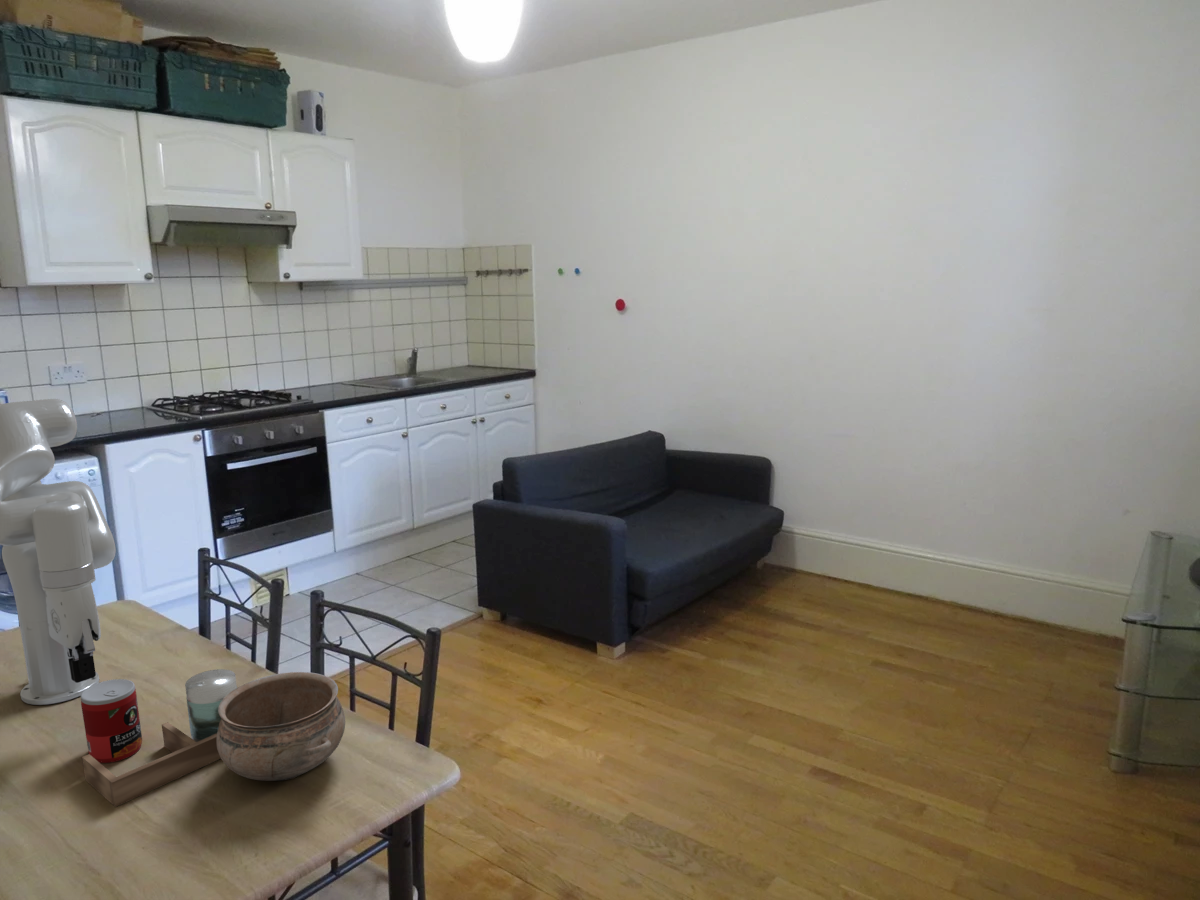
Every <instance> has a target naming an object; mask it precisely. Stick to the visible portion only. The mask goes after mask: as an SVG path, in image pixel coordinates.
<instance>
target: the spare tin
mask: <svg viewBox="0 0 1200 900" xmlns="http://www.w3.org/2000/svg"><path fill="white" fill-rule="evenodd" d="M184 685H185V686H184V687H185V694H186V706H187V712H188V713H187V714H188V722H189V730H190V736H191V737H190V738H192V739H193V740H194V741H196V742H198V741H200V740H203V739H205V738H207V737H210V736H212V735H214V734H217V732H218V727H219V723H220V720H221V717H220V715H219V713H218V707H219V705H220V702H221V701H222V700H223V699H224V697H226V696H227V695H228V694H229V693H230V692H232V691H233V690H235V689H236V688H238V686H237V678H236V673H235V672H234V671H233V670H230V669H223V668H221V669H220V668H219V669H217V668H216V669H210V670H206V671H202V672H199V673H197V674H195V675H193V676H190V678H188V679H187V680H186V681H185V684H184Z"/></svg>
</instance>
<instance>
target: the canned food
mask: <svg viewBox="0 0 1200 900" xmlns="http://www.w3.org/2000/svg"><path fill="white" fill-rule="evenodd" d="M80 705H81V712H82V719H83V725H84V726H83V727H84V731H85V738H86V743H87V745H86V746H87V750H88V751H87V753H88V754H90V755H91V756H92V757H93V758H94V759H96V760H97V761H98V762H99V763H100V764H108V763H115V762H119V761H123V760H125V759H128V758H130V757H131V756H133V755H135V754H136V753H137V752H139V750H140V749H141V747H142V743H143V737H142V729H141V719H140V713H139V711H140V710H139V705H138V697H137V689H136V685H135V683H134V682H133V681H132V680H129V679H125V678H123V679H121V678H118V679H117V678H116V679H109V680H103V681H101V682H100V681H99V683H97V684H94V685H92V686H90V687H88V688H87V689H85V690H84V691H83V692H82V693H81V696H80Z"/></svg>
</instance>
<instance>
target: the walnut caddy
mask: <svg viewBox="0 0 1200 900" xmlns="http://www.w3.org/2000/svg"><path fill="white" fill-rule="evenodd" d="M161 731H162V738H163V747H164V748H166V749H167V750H168V751H170V752H171V753H169V754H166V755H164V756H162V757H159V758H157V759H155V760H153V761H150V762H148V763H146V764H143V765H141V766H139V767H136V768H135V769H131V770H130V771H127V772H125V773H123V774H120V775H117V776H116V775H115V774H113V773H112V772H111V771H110V770H109V769H108V768H106V767H105V766H104V765H103V763H100V762H98V761H97V760H96V759H94V758H93V757H92V756H91V755H90V754H89V753H88V754H86V755H83V756H81V759H82V766H83V772H84V779H85V781H86V782H87V783H88V784H89V785H91V787H93V788H94V789H95V790H96V791H97V792H98V793H99V794H100V795H101V796H103V797H104V798H105V799H106V800H107V801H108V802H109V803H110V804H112V806H114V807H115V808H117V807H118V806H121V805H123V804H125V803H127V802H129V801H132V800H134V799H136V798H138V797H140V796H143V795H145V794H147V793H149V792H151V791H153V790H155V789H158V788H160V787H162V786H164V785H167V784H168V783H171V782H173V781H175V780H177V779H179V778H181V777H184V776H186V775H189V774H190V773H192V772H195V771H197V770H199V769H201V768H203V767H206V766H208V765H210V764H212V763H214V762H216V761H218V760H222V759H221V757H220V755H219V752H218V750H217V734H214V735H212V736H210V737H207V738H205V739H203V740H200V741H198V742H196V741H194V740H193V739H192V738H191V737H190V736H189V735H187V734H186V733H184V732H183V731H182V730H180V729H179V728H177V727H176V726H174V725H173V724H171V723H170V722H169V721H167V722H163V724H161Z"/></svg>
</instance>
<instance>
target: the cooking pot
mask: <svg viewBox="0 0 1200 900" xmlns="http://www.w3.org/2000/svg"><path fill="white" fill-rule="evenodd" d="M338 693H339V687H338V684H337V682H336V681H335V680H334V679H332V678H331V677H330V676H326V675H324V674H321V673H315V672H311V671H309V672H307V671H294V672H293V671H291V672H282V673H276V674H275V673H274V674H270V675H266V676H263V677H259V678H256V679H254V680H251V681H248V682H246V683H244V684H242V685H240V686H237V688H236V689H235V690H233V691H232V692H230V693H229V694H228V695H227V696H226V697H224V699H223V700H222V701H221V702H220V705H219V707H218V713H219V715H220V717H221V720H220V723H219V727H218V732H217V750H218V752H219V755H220V757H221V759H220V760H221V761H223V763H224V764H225V766H227V768H228V769H230V770H231V771H232V772H233V773H234V774H237V775H238V776H241V777H243V778H246V779H251V780H256V781H268V782H273V781H275V782H278V781H279V782H281V781H288V780H292V779H295V778H296V777H299V776H301V775H303V774H306V773H307V772H309V771H312V770H313V769H315V768H316V767H318V766H319V765H321V764H323V762H325V761H326V760H327V759H328V758H329V757H330V756H331V755H332V754H333V753H334V752H335V751H336V750H337V748H338V746H339V744H341V743H340V742H341V741H342V738H343V735H344V733H345V730H346V729H345V728H346V716H345V711H344V709H343V705H342V703H341V701H340V699H339V698H338Z"/></svg>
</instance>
